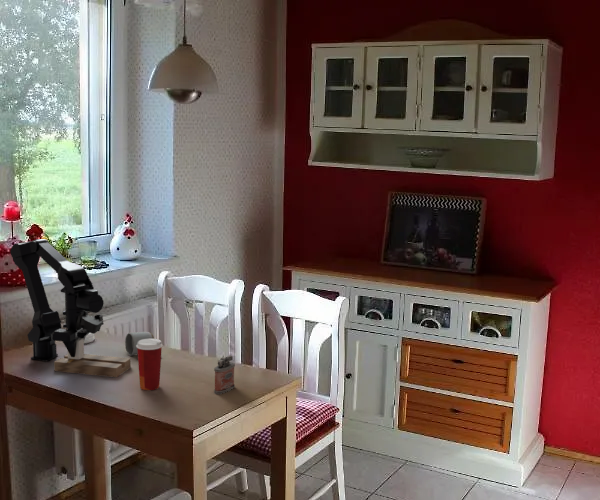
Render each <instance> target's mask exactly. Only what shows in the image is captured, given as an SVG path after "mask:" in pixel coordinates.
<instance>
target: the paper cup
mask: <svg viewBox="0 0 600 500" xmlns="http://www.w3.org/2000/svg"><path fill="white" fill-rule="evenodd" d="M136 347H137V350H138V355H137V360H138V361H137V363H138V375H139V376H138V378H139V387H140V390H143V391H154V390H157V389H159V388H160V381H161V380H160V379H161V367H162V366H161V365H162V347H164V345H163V343H162V340H160V339H159V338H158V339H157V338H154V339H143V340H140V341H138V343H137V345H136Z"/></svg>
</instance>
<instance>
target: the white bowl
mask: <svg viewBox="0 0 600 500" xmlns="http://www.w3.org/2000/svg"><path fill="white" fill-rule="evenodd" d="M95 334H96V333H94V334H93V333H89V334H88V335H87V336H86V337H85V339H84V344H88V343H92V342H94V341H95V339H96V338H95Z"/></svg>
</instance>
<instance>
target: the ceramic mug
mask: <svg viewBox="0 0 600 500" xmlns="http://www.w3.org/2000/svg"><path fill="white" fill-rule="evenodd" d="M124 339H125V340H124V342H125V343H124V345H125V349H126V353H127V354H128V355H129V356H130V357H131V356H138V350H137V347H136V345H137V343H138V341H140V340H143V339H155V337H154V335H153V334H152V332H149V331H138V332H137V331H136V332H128V333H126V335H125V338H124Z"/></svg>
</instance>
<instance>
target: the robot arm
mask: <svg viewBox="0 0 600 500" xmlns="http://www.w3.org/2000/svg"><path fill="white" fill-rule="evenodd" d="M9 252H10V256H11V259H12V260H13V262H14V265H15V266H16V267H18V269H20V270H21V271H22V275H23V278H24V281H25V284H26V288H27V291H28V295H29V297H30V302H31V305H32V309H33V312H34V313H33V316H32V319H31V323H32V328H31V329H30V331H29V332H28V333H27V338H28V342H31V343H32V352H33V353H32V354H33V355H32V356H31V357H30V360H34V361H35V360H36V361H44V362H47V361H48V362H49V361H50V360H52V359H54V358H56V357H58V356H59V354H58V353H57V352H58V351H57V343H56V342H62V343H63V345H64V346H65V348H66V349H67V353H68V352H69V354H70V355H71V357H75V353H76V343H77V341H78V340H79V339H80V338H84V339H85V337H86V336H87V335H88V334H89V333H93V334H96V333H97V332H100V330H101V327H102V326H104V316H103V315H102V314H100V313H99V312H100V311H101V310H102V309H103V307H104V298H103V297H102V296H101V295H100V294H99V291H98V290H97V289H95V287H94V286H93V282H92V281H91V279H90V277H89V275H88V272H87V271H86V269H85V268H84V267H83V266H81V265H79V264H77V263H74V262H71V261H69V260H68V259H66V257H64V256H63V255H62V254H61V253H60V252H59V251H58V250H57V249H55V248H54V246H52V245H51V244H50V241H49V240H48V239H45V238H41V239H34V240H31V241H25V242H24V241H23V242H18V243H14V244H13V245H12V246H11V248H10V249H9ZM40 258H41V259H42V260H43V262H45V263H46V264H47V265H48V266H49V267H50V268H52V269H53V271H55V272H56V274H57V279H58V281H59V282H60V283H61V284H62V285H63V287H62V288H61V289H60V293H64V303H65V306H64V311H62V316H65V323H63V324H62V320H61V318H60V313H59V312H58V310H55V311H54V310H53V309H52V308H51V307H50V304H49V300H48V297H47V294H46V291H45V287H44V284H43V280H42V277H41V273H40V270H39V267H38V266H39V262H40V260H41V259H40ZM89 313H93V314H95V315H89ZM96 313H97V314H96Z"/></svg>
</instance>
